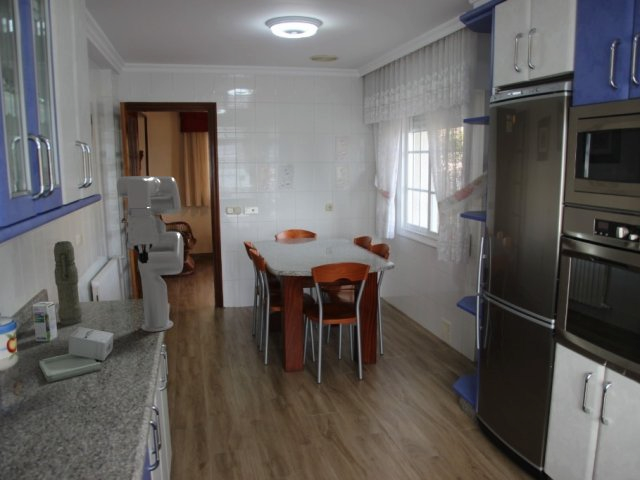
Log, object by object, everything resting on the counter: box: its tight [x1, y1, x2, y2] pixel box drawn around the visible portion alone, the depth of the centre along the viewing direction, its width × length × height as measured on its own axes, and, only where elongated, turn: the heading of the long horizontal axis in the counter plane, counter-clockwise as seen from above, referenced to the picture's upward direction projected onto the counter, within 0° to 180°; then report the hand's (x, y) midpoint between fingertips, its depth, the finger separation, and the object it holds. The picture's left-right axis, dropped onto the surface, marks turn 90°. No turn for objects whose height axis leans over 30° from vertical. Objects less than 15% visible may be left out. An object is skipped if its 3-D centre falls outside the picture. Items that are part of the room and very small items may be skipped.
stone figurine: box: [53, 240, 83, 326], centre depth 220 cm, size 9×12×35 cm
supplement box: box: [68, 326, 114, 361], centre depth 183 cm, size 7×7×13 cm
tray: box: [38, 353, 102, 384], centre depth 175 cm, size 16×16×2 cm
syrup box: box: [32, 301, 58, 342], centre depth 202 cm, size 6×6×14 cm
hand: (143, 262), depth 188 cm, fingers closed
